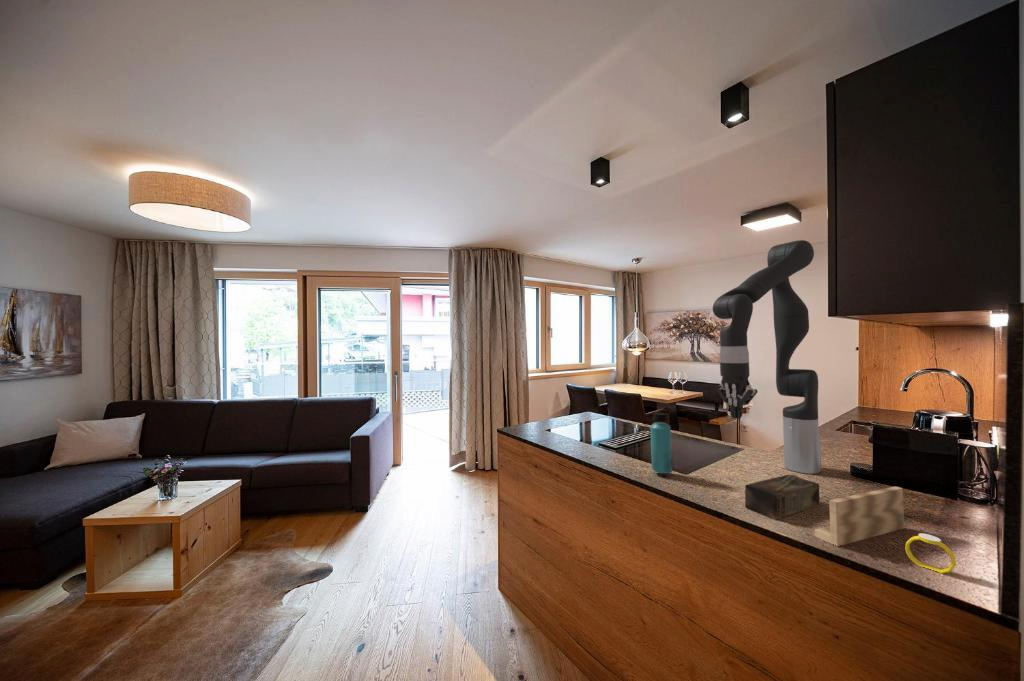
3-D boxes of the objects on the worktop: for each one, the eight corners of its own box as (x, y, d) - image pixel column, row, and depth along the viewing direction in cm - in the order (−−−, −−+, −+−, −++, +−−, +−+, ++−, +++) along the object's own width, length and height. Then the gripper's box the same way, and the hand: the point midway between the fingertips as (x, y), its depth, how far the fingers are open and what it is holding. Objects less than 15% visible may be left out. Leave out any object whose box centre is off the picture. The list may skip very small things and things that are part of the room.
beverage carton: (822, 506, 93) (821, 480, 93) (776, 522, 85) (775, 494, 85) (788, 494, 100) (787, 471, 100) (743, 508, 92) (742, 483, 92)
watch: (955, 575, 65) (957, 543, 65) (953, 581, 63) (955, 548, 63) (906, 557, 70) (908, 527, 70) (903, 562, 68) (905, 531, 68)
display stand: (880, 519, 85) (878, 481, 85) (904, 528, 80) (902, 488, 81) (814, 536, 78) (813, 494, 78) (837, 546, 74) (835, 502, 74)
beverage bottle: (675, 478, 113) (673, 415, 113) (653, 477, 114) (651, 414, 114) (670, 471, 119) (668, 411, 120) (649, 470, 120) (647, 411, 121)
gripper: (764, 361, 103) (766, 421, 103) (725, 359, 116) (727, 413, 116) (744, 362, 101) (746, 424, 101) (706, 360, 114) (708, 415, 113)
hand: (736, 418), depth 108 cm, fingers closed
